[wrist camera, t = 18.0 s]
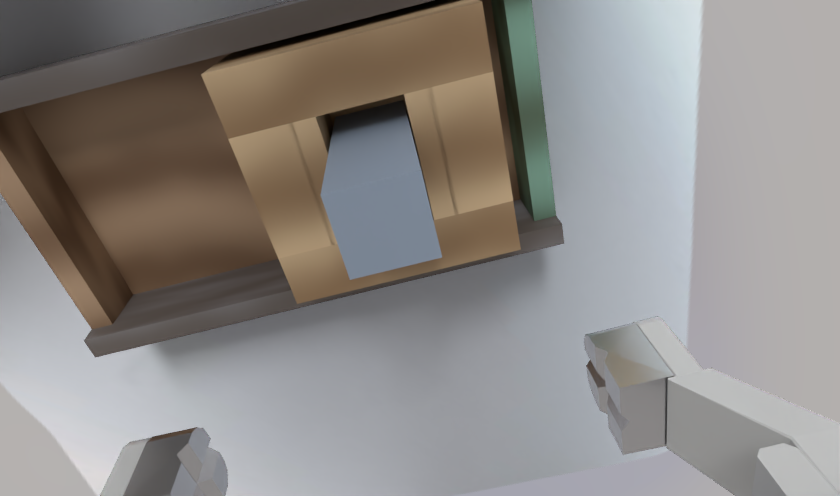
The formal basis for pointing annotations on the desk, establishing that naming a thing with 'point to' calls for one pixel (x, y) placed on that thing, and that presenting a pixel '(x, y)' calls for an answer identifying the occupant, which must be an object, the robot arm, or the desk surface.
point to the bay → (203, 172)
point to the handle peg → (377, 193)
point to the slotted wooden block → (358, 90)
